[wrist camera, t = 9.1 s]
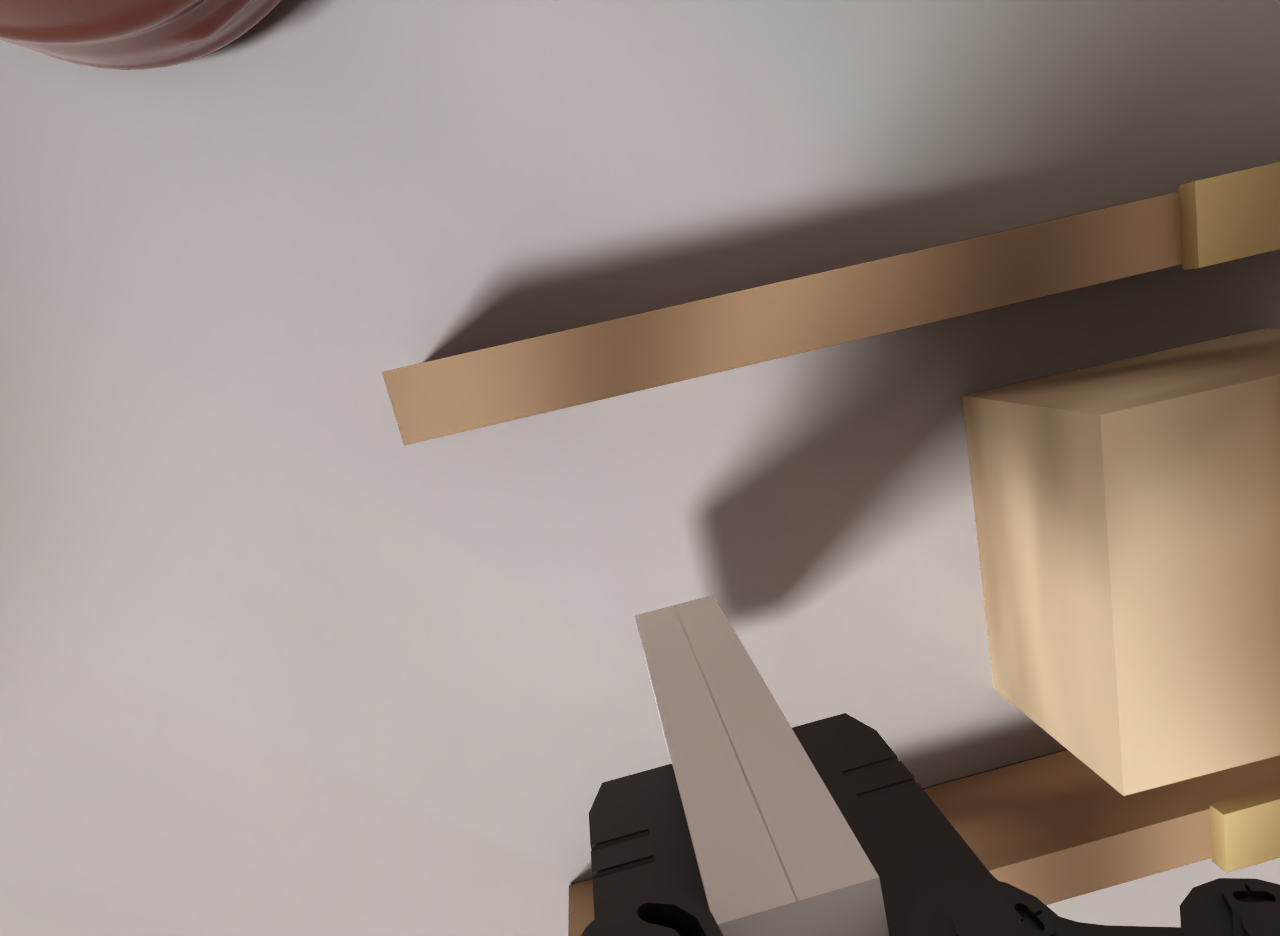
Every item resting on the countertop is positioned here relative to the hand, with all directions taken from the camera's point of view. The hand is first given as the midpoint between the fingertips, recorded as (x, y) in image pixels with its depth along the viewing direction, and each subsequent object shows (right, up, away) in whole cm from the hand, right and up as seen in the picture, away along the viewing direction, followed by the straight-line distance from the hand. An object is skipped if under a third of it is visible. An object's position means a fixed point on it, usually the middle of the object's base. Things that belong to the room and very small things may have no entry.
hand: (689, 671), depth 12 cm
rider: (+10, +3, +3) cm, 11 cm away
